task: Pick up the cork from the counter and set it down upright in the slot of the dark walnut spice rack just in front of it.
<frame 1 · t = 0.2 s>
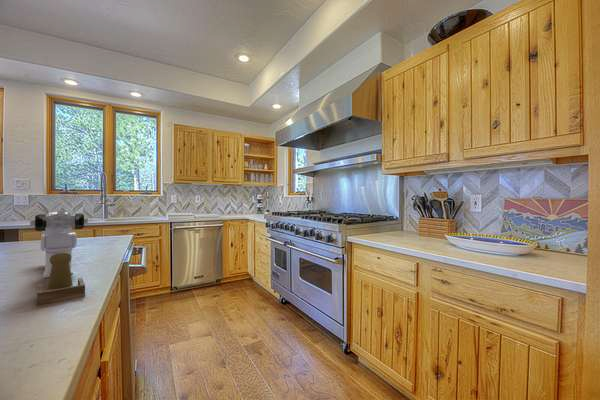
hand: (61, 223, 82), 21 cm above the countertop, tool horizontal, fingers open, 7 cm apart
spice rack: (61, 295, 75), on the countertop
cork: (60, 287, 82), on the countertop
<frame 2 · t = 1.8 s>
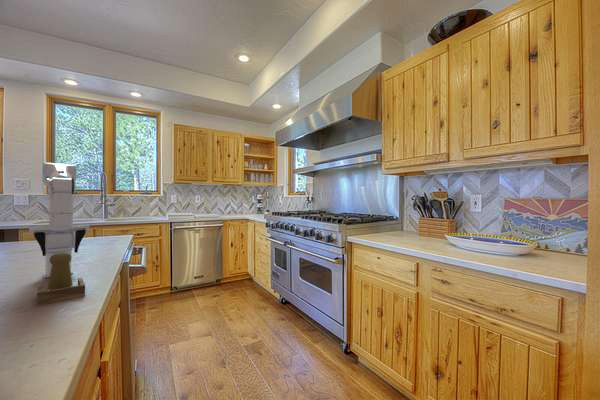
hand: (60, 253, 84), 11 cm above the countertop, tool pointing down, fingers open, 7 cm apart
nothing on the countertop moved.
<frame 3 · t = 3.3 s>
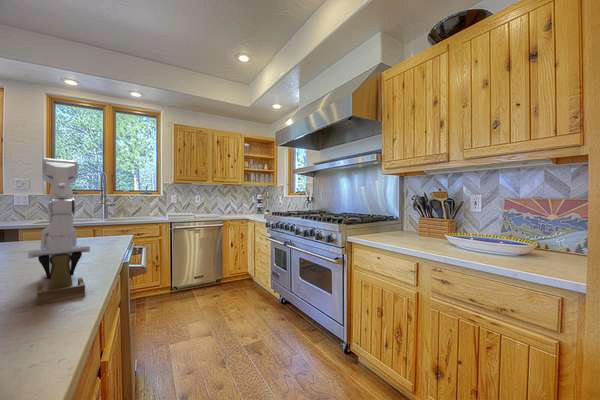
hand: (60, 276, 82), 3 cm above the countertop, tool pointing down, fingers closed on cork, 5 cm apart
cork: (60, 287, 82), on the countertop, touching gripper
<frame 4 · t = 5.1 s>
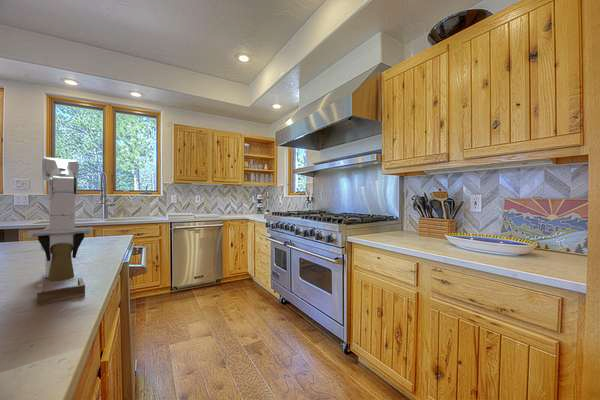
hand: (61, 258, 77), 11 cm above the countertop, tool pointing down, fingers closed on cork, 5 cm apart
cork: (61, 278, 78), point 4 cm above the countertop, touching gripper
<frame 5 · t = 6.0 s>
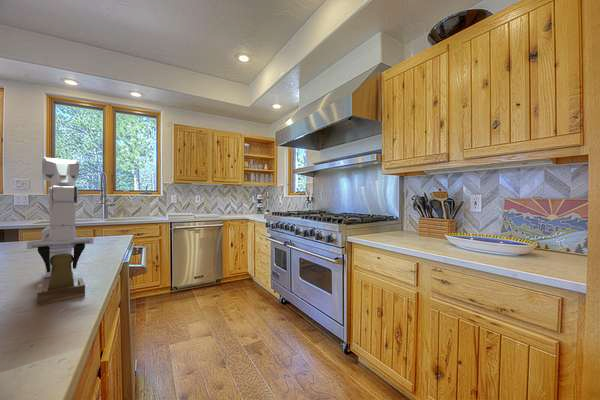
hand: (61, 269, 76), 8 cm above the countertop, tool pointing down, fingers closed on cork, 5 cm apart
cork: (61, 290, 76), point 1 cm above the countertop, touching gripper
when the fingers open (6 cm above the countertop, at t = 6.9 s): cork stays where it is, resting on spice rack.
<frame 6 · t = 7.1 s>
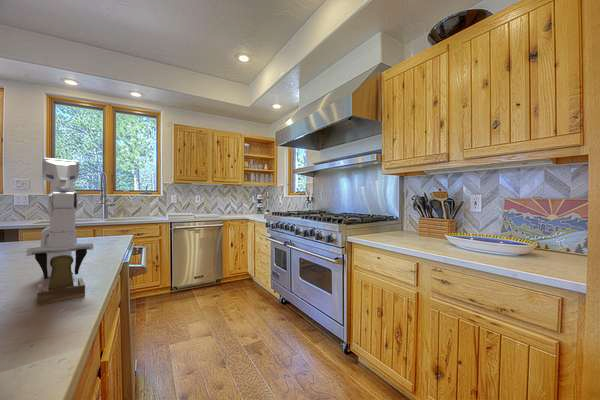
hand: (61, 275, 76), 6 cm above the countertop, tool pointing down, fingers open, 6 cm apart
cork: (61, 292, 76), point 1 cm above the countertop, touching spice rack
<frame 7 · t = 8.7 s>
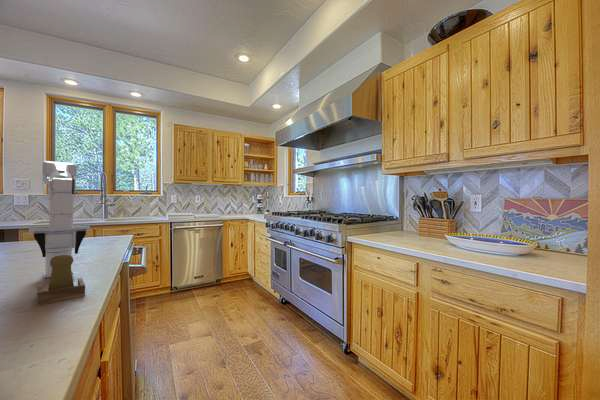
hand: (60, 254, 83), 10 cm above the countertop, tool pointing down, fingers open, 7 cm apart
nothing on the countertop moved.
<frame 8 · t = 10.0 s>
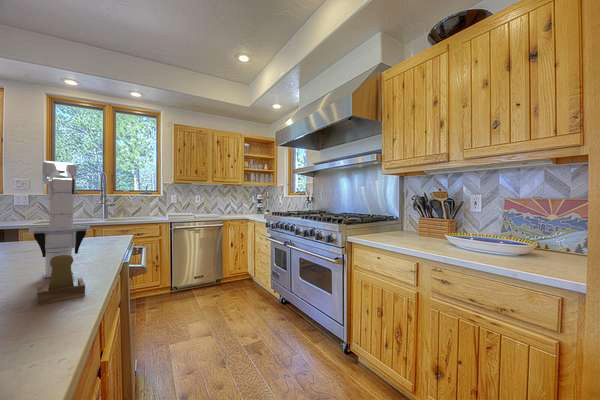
hand: (60, 254, 83), 10 cm above the countertop, tool pointing down, fingers open, 7 cm apart
nothing on the countertop moved.
at the end: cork 1.0 cm off-centre on the spice rack, point 0.6 cm above the spice rack's base; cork tilted 0°; the gripper is holding nothing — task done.
